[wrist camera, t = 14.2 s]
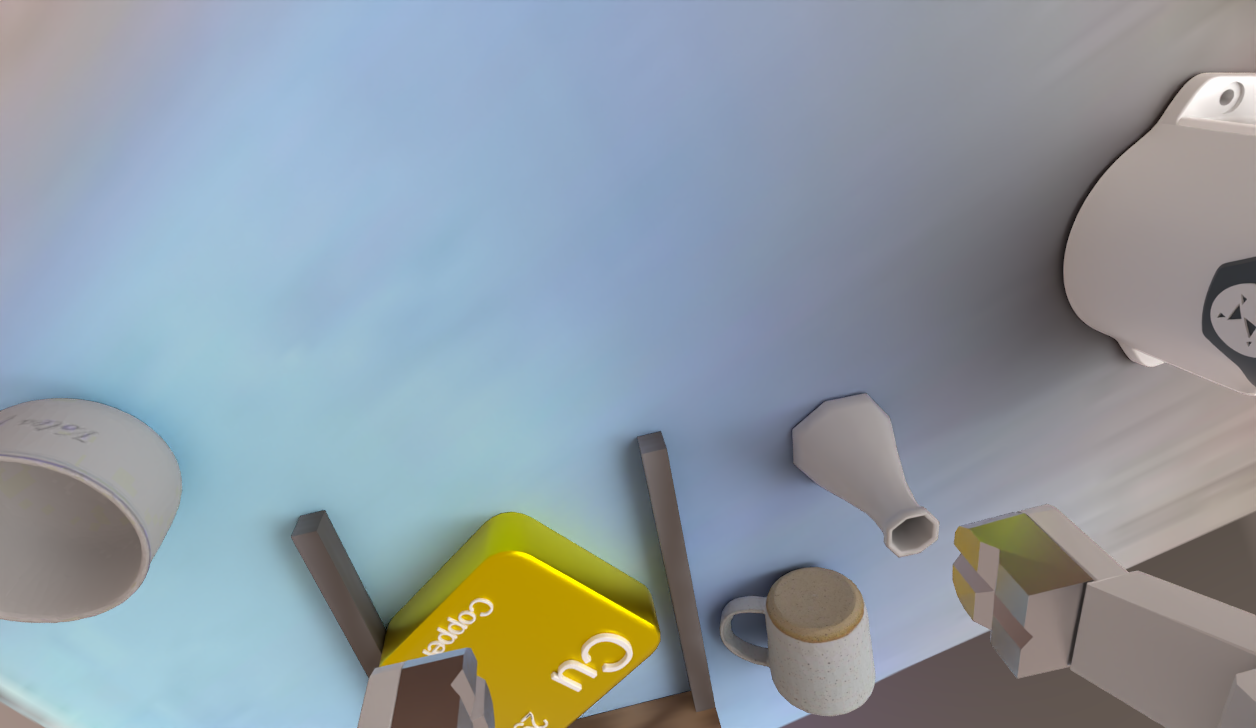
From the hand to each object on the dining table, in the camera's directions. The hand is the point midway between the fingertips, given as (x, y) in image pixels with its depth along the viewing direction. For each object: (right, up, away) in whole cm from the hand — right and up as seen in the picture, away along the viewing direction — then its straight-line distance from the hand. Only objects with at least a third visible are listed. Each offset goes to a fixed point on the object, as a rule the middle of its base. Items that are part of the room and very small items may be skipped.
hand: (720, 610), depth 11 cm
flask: (+13, -1, +36) cm, 38 cm away
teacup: (-34, -2, +29) cm, 44 cm away
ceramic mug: (+11, -15, +43) cm, 46 cm away
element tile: (-9, -14, +39) cm, 43 cm away
